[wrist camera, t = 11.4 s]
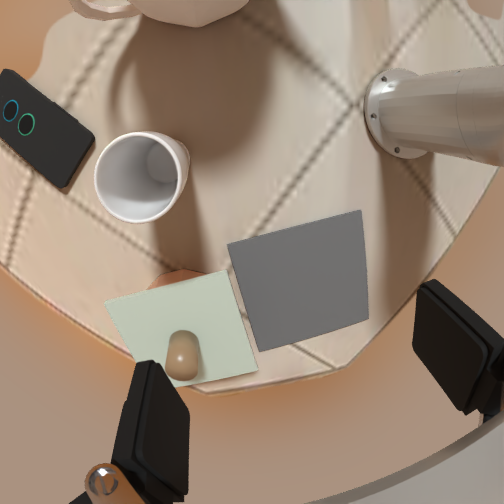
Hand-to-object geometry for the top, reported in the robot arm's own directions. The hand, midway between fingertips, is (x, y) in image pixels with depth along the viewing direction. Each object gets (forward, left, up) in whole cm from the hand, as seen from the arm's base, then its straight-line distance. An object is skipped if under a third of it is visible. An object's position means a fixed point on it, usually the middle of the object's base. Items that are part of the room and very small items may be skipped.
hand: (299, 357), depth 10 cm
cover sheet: (+11, +14, -22) cm, 28 cm away
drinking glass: (+7, -6, -28) cm, 30 cm away
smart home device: (+24, -18, -29) cm, 41 cm away
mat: (-6, +15, -28) cm, 32 cm away
